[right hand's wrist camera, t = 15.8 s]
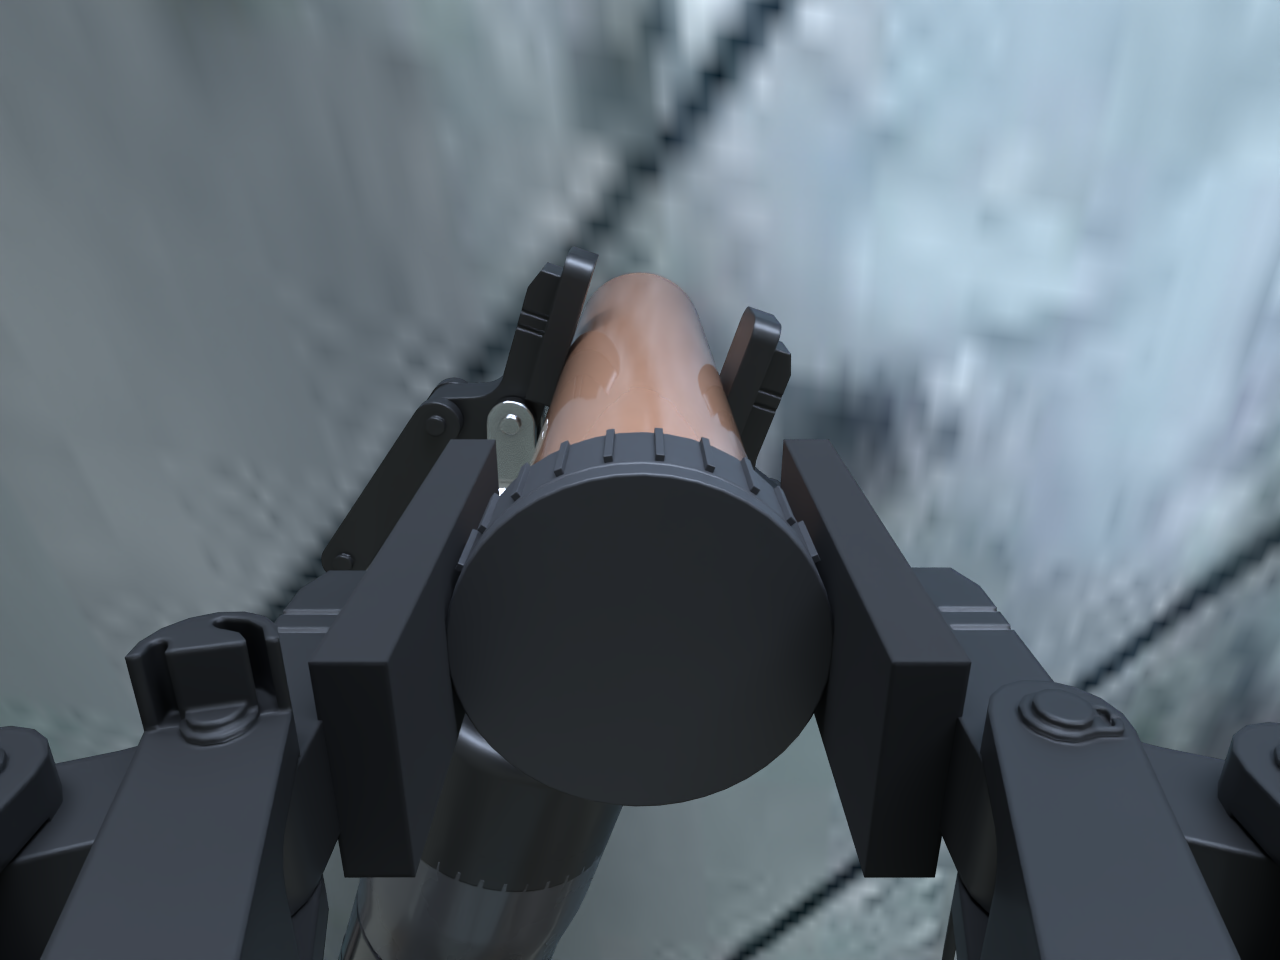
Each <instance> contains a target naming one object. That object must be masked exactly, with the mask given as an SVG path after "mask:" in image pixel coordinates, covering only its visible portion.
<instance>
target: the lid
mask: <svg viewBox="0 0 1280 960" xmlns="http://www.w3.org/2000/svg"><path fill="white" fill-rule="evenodd" d="M819 561H820V558H819V555H818V553H817V551H816V548H815V546H814V544H813V542H812V539H811V537H810V535H809V532H808V530H807V528H806V526H805V524H804V521H800V522H798V523H797V521H796V519H795V517H794V515H793V513H792V511H791V508H790V506H789V503H788V501H787V499H786V496H785V494H784V491H783V490H782V489H781V487H780V486H777V487H776V488H773V487H772V486H771V485H770V484H769V483H768V482H767V481H766V480H764V479H763V478H762V477H761V476H760V475H759V474H758V473H757V472H755V471H754V470H753V467H752V464H751V461H750V460H749V459H747V458H746V457H743V459H742V460H741V461H740V460H738V459H737V458H735V457H733V456H731V455H729V454H727V453H725V452H723V451H721V450H719V449H717V448H715V447H713V446H711V445H710V441H709V439H707V438H704V437H701V440H700V442H699V441H696V440H693V439H689V438H684V437H680V436H675V435H670V434H663V428H654V433H649V432H633V433H617V434H615V429H608V430H606V435H605V436H599V437H594V438H591V439H588V440H584V441H581V442H578V443H574V444H571V445H570V443H569V441H568V440H567V441H565V442H562V443H561V445H560V449H559V450H558V451H556V452H554V453H551V454H550V455H548V456H546V457H545V458H543V459H542V460H540V461H538V462H537V463H535V464H534V465H532V466H530V465H529V464H528V463H525V464H524V465H523V466H521V469H520V472H519V474H518V477H517V478H516V479H515V480H514V481H513V482H512V483H511V484H510V485H509V486H508V487H507V488H506V489H505V490H504V491H503V492H502V494H501V495H500V496H499V495H498V494H496V493H494V494H493V495H492V497H491V498H490V500H489V503H488V505H487V507H486V510H485V512H484V515H483V517H482V519H481V522H480V524H479V526H478V529H477V530H475V529H472V531H471V534H470V536H469V538H468V541H467V543H466V545H465V548H464V550H463V552H462V554H461V557H460V559H459V561H458V564H457V566H456V569H455V570H457V571H460V572H461V573H460V576H459V578H458V580H457V583H456V585H455V589H454V592H453V595H452V598H451V601H450V604H449V609H448V616H447V622H446V638H447V650H448V660H449V669H450V676H451V679H452V683H453V686H454V689H455V692H456V694H457V697H458V699H459V701H460V703H461V705H462V707H463V709H464V711H465V713H466V715H467V716H468V718H469V719H470V721H471V722H472V724H473V725H474V727H475V728H476V730H477V731H478V732H479V734H480V735H481V736H482V737H483V738H484V739H485V740H486V742H487V743H488V744H489V745H490V746H491V747H492V748H493V749H494V750H495V751H496V752H497V753H498V754H499V755H501V756H502V757H503V758H504V759H505V760H506V761H507V762H508V763H510V764H511V765H513V766H514V767H516V768H517V769H519V770H520V771H521V772H523V773H524V774H526V775H527V776H529V777H531V778H533V779H535V780H537V781H538V782H540V783H542V784H544V785H546V786H548V787H550V788H553V789H555V790H558V791H560V792H563V793H565V794H568V795H571V796H575V797H578V798H582V799H585V800H589V801H594V802H600V803H606V804H611V805H624V806H659V805H667V804H674V803H681V802H686V801H690V800H694V799H698V798H702V797H705V796H708V795H711V794H714V793H716V792H719V791H722V790H725V789H727V788H729V787H731V786H733V785H735V784H737V783H739V782H741V781H743V780H745V779H747V778H749V777H750V776H752V775H753V774H755V773H757V772H758V771H760V770H761V769H763V768H764V767H766V766H767V765H768V764H769V763H771V762H772V761H773V760H774V759H775V758H777V757H778V756H779V755H780V754H781V753H783V752H784V751H785V750H786V749H787V747H788V746H789V745H790V744H791V743H792V742H793V741H794V740H795V739H796V738H797V737H798V736H799V734H800V733H801V732H802V730H803V729H804V727H805V726H806V725H807V723H808V722H809V720H810V719H811V717H812V715H813V714H814V712H815V710H816V708H817V706H818V704H819V702H820V700H821V698H822V695H823V693H824V690H825V687H826V684H827V682H828V679H829V673H830V664H831V654H832V644H833V618H832V611H831V607H830V603H829V600H828V595H827V592H826V589H825V587H824V584H823V582H822V580H821V577H820V575H819V573H818V570H817V568H816V565H815V563H817V562H819Z"/></svg>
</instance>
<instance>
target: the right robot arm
mask: <svg viewBox="0 0 1280 960" xmlns="http://www.w3.org/2000/svg"><path fill="white" fill-rule="evenodd" d="M781 489H782V490H783V491H784V494H785V496H786V499H787V501H788V503H789V506H790V508H791V511H792V513H793V515H794V517H795V519H796V521H797V523H798V522H800V521H804V524H805V526H806V528H807V530H808V532H809V535H810V537H811V539H812V542H813V544H814V546H815V548H816V551H817V553H818V555H819V558H820V561H819V562H817V563H815V565H816V568H817V570H818V573H819V575H820V577H821V580H822V582H823V584H824V587H825V589H826V592H827V595H828V600H829V603H830V607H831V611H832V618H833V644H832V654H831V664H830V673H829V679H828V682H827V684H826V687H825V690H824V693H823V695H822V698H821V700H820V702H819V704H818V706H817V708H816V710H815V712H814V714H815V718H816V721H817V724H818V728H819V731H820V734H821V737H822V741H823V744H824V747H825V750H826V754H827V757H828V760H829V763H830V767H831V770H832V773H833V777H834V780H835V783H836V786H837V790H838V793H839V796H840V799H841V803H842V806H843V809H844V812H845V816H846V819H847V822H848V826H849V829H850V832H851V835H852V839H853V842H854V845H855V848H856V852H857V855H858V858H859V861H860V865H861V868H862V871H863V875H864V877H935V873H936V868H937V862H938V856H939V850H940V844H941V838H942V837H943V839H944V841H945V843H946V846H947V848H948V850H949V853H950V855H951V857H952V859H953V862H954V864H955V866H956V869H957V871H958V873H957V878H956V884H955V889H954V895H953V900H952V905H951V911H950V916H949V922H948V927H947V933H946V938H945V944H944V950H943V956H942V960H954V956H955V951H956V954H957V960H1280V723H1272V722H1266V723H1259V724H1252V725H1246V726H1245V727H1243V728H1242V729H1241V730H1239V731H1238V732H1237V733H1235V734H1234V735H1233V738H1232V741H1231V744H1230V747H1229V750H1228V754H1227V757H1226V760H1222V759H1217V758H1212V757H1207V756H1202V755H1197V754H1192V753H1187V752H1182V751H1177V750H1172V749H1167V748H1162V747H1158V746H1154V745H1150V744H1146V743H1143V742H1141V741H1140V738H1139V736H1138V734H1137V732H1136V730H1135V729H1134V727H1133V726H1132V725H1131V724H1130V722H1129V721H1128V720H1127V718H1126V717H1125V716H1124V714H1123V713H1121V712H1120V711H1118V710H1117V709H1116V708H1114V707H1113V706H1111V705H1110V704H1109V703H1107V702H1106V701H1104V700H1103V699H1101V698H1099V697H1097V696H1095V695H1092V694H1090V693H1088V692H1085V691H1083V690H1081V689H1078V688H1076V687H1073V686H1068V685H1064V684H1060V683H1055V682H1054V681H1053V680H1052V679H1051V678H1050V676H1049V675H1048V674H1047V672H1046V671H1045V670H1044V668H1043V667H1042V666H1041V665H1040V663H1039V662H1038V661H1037V659H1036V658H1035V657H1034V655H1033V654H1032V653H1031V652H1030V650H1029V649H1028V648H1027V646H1026V645H1025V644H1024V642H1023V641H1022V640H1021V639H1020V637H1019V636H1018V635H1017V633H1016V632H1015V631H1014V630H1011V629H1010V624H1009V623H1008V622H1007V620H1006V619H1005V618H1004V617H1003V615H1002V614H1001V613H1000V612H997V610H996V609H997V607H996V606H995V605H994V604H993V602H992V601H991V600H990V598H989V597H988V596H987V594H986V593H985V592H984V591H983V589H982V588H981V587H980V586H979V585H978V584H976V583H974V582H973V581H971V580H970V579H968V578H966V577H965V576H963V575H962V574H960V573H958V572H957V571H955V570H954V569H952V568H911V567H910V565H909V564H908V562H907V561H906V559H905V557H904V556H903V554H902V553H901V551H900V550H899V548H898V546H897V545H896V543H895V542H894V540H893V539H892V537H891V536H890V534H889V532H888V531H887V529H886V528H885V526H884V525H883V523H882V522H881V520H880V518H879V517H878V515H877V514H876V512H875V511H874V509H873V508H872V506H871V504H870V503H869V501H868V500H867V498H866V497H865V495H864V493H863V492H862V490H861V489H860V487H859V486H858V484H857V483H856V481H855V479H854V478H853V476H852V475H851V473H850V472H849V470H848V469H847V467H846V465H845V464H844V462H843V461H842V459H841V458H840V456H839V454H838V453H837V451H836V450H835V448H834V447H833V445H832V444H831V442H830V440H829V439H784V444H783V459H782V474H781ZM494 493H496V494H498V495H499V481H498V466H497V451H496V439H451V440H450V441H449V443H448V444H447V446H446V447H445V449H444V451H443V452H442V454H441V455H440V457H439V458H438V460H437V461H436V463H435V465H434V466H433V468H432V469H431V471H430V472H429V474H428V475H427V477H426V479H425V480H424V482H423V483H422V485H421V486H420V488H419V490H418V491H417V493H416V494H415V496H414V497H413V499H412V500H411V502H410V504H409V505H408V507H407V508H406V510H405V511H404V513H403V514H402V516H401V518H400V519H399V521H398V522H397V524H396V525H395V527H394V528H393V530H392V532H391V533H390V535H389V536H388V538H387V539H386V541H385V543H384V544H383V546H382V547H381V549H380V550H379V552H378V553H377V555H376V557H375V558H374V560H373V561H372V563H371V564H370V566H369V567H368V569H367V570H329V571H327V572H326V573H324V574H323V575H321V576H320V577H318V578H316V579H315V580H313V581H312V582H310V583H308V584H307V585H305V586H304V587H302V588H301V589H299V591H298V592H297V593H296V595H295V596H294V597H293V599H292V600H291V601H290V602H289V604H288V605H287V606H286V608H285V609H284V610H283V615H280V616H279V617H278V618H277V619H276V621H275V622H274V623H273V622H272V621H271V620H269V619H268V618H267V617H265V616H262V615H257V614H253V613H248V612H217V613H212V614H207V615H202V616H197V617H192V618H188V619H186V620H183V621H180V622H177V623H175V624H172V625H169V626H167V627H164V628H161V629H160V630H158V631H156V632H155V633H153V634H152V635H150V636H148V637H147V638H145V639H143V640H142V641H140V642H139V643H138V644H137V645H136V646H135V647H134V648H133V649H132V650H131V651H130V652H129V653H128V655H127V656H126V657H125V660H126V664H127V667H128V671H129V675H130V679H131V683H132V686H133V690H134V694H135V698H136V702H137V705H138V709H139V713H140V717H141V720H142V724H143V728H144V733H143V736H142V738H141V740H140V742H139V744H138V746H136V747H132V748H128V749H125V750H121V751H116V752H111V753H106V754H101V755H96V756H91V757H87V758H82V759H77V760H72V761H67V762H62V763H57V764H55V762H54V759H53V756H52V753H51V749H50V746H49V743H48V740H47V738H45V737H44V736H43V735H41V734H40V733H39V732H37V731H36V730H35V729H29V728H22V727H15V726H7V727H0V960H323V956H324V947H325V938H326V929H327V920H328V911H329V908H328V902H327V895H326V889H325V884H324V878H323V872H324V870H325V867H326V865H327V863H328V860H329V858H330V856H331V853H332V851H333V849H334V846H335V844H336V842H337V840H338V841H339V847H340V853H341V859H342V865H343V871H344V877H415V876H416V873H417V870H418V866H419V863H420V860H421V857H422V853H423V850H424V847H425V843H426V840H427V837H428V834H429V830H430V827H431V824H432V821H433V817H434V814H435V811H436V808H437V804H438V801H439V798H440V794H441V791H442V788H443V785H444V781H445V778H446V775H447V772H448V768H449V765H450V762H451V759H452V755H453V752H454V749H455V746H456V742H457V739H458V736H459V732H460V729H461V726H462V723H463V719H464V716H465V711H464V709H463V707H462V705H461V703H460V701H459V699H458V697H457V694H456V692H455V689H454V686H453V683H452V679H451V676H450V669H449V660H448V650H447V638H446V622H447V616H448V609H449V604H450V601H451V598H452V595H453V592H454V589H455V585H456V583H457V580H458V578H459V576H460V573H461V572H460V571H457V570H455V569H456V566H457V564H458V561H459V559H460V557H461V554H462V552H463V550H464V548H465V545H466V543H467V541H468V538H469V536H470V534H471V531H472V529H475V530H477V529H478V526H479V524H480V522H481V519H482V517H483V515H484V512H485V510H486V507H487V505H488V503H489V500H490V498H491V497H492V495H493V494H494Z"/></svg>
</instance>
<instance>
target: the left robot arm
mask: <svg viewBox="0 0 1280 960" xmlns="http://www.w3.org/2000/svg"><path fill="white" fill-rule="evenodd" d="M597 258H598V254H595V253H592V252H589V251H586V250H583V249H580V248H577V247H574V246H573V247H572V248H571V250H570V251H569V253H568V255H567V258H566V261H565V264H564V268H563V267H560V266H557V265H554V264H551V263H548V262H547V264H546V265H545V266H544V267H543V269H542V270H541V271H540V273H539V274H538V275H537V276H536V278H535V279H534V280H533V281H532V283H531V284H530V285H529V287H528V289H527V292H526V296H525V300H524V303H523V307H522V311H521V314H520V318H519V321H518V325H517V328H516V332H515V335H514V339H513V343H512V346H511V350H510V353H509V357H508V361H507V364H506V368H505V371H504V375H503V376H502V377H501V378H499V379H497V380H495V381H492V382H486V383H468V382H466V381H465V380H463V379H460V378H448V379H445V380H443V381H442V382H440V383H439V384H438V385H437V387H436V388H435V389H434V390H433V392H432V393H431V395H430V396H429V398H428V399H427V400H426V401H425V402H424V403H422V404H421V406H420V407H419V408H418V409H417V410H416V412H415V413H414V415H413V416H412V418H411V419H410V421H409V422H408V424H407V425H406V427H405V428H404V430H403V431H402V433H401V434H400V436H399V437H398V439H397V440H396V442H395V443H394V445H393V447H392V448H391V450H390V451H389V453H388V454H387V456H386V457H385V459H384V460H383V462H382V463H381V465H380V466H379V468H378V469H377V471H376V472H375V474H374V475H373V477H372V478H371V480H370V481H369V483H368V484H367V486H366V487H365V489H364V491H363V492H362V494H361V495H360V497H359V498H358V500H357V501H356V503H355V504H354V506H353V507H352V509H351V510H350V512H349V513H348V515H347V516H346V518H345V519H344V521H343V522H342V524H341V525H340V527H339V528H338V530H337V531H336V533H335V535H334V536H333V538H332V539H331V541H330V542H329V544H328V545H327V547H326V548H325V550H324V551H323V554H322V559H321V560H322V565H323V568H324V570H325V571H326V572H327V571H329V570H367V569H368V567H369V566H370V564H371V563H372V561H373V560H374V558H375V557H376V555H377V553H378V552H379V550H380V549H381V547H382V546H383V544H384V543H385V541H386V539H387V538H388V536H389V535H390V533H391V532H392V530H393V528H394V527H395V525H396V524H397V522H398V521H399V519H400V518H401V516H402V514H403V513H404V511H405V510H406V508H407V507H408V505H409V504H410V502H411V500H412V499H413V497H414V496H415V494H416V493H417V491H418V490H419V488H420V486H421V485H422V483H423V482H424V480H425V479H426V477H427V475H428V474H429V472H430V471H431V469H432V468H433V466H434V465H435V463H436V461H437V460H438V458H439V457H440V455H441V454H442V452H443V451H444V449H445V447H446V446H447V444H448V443H449V441H450V440H451V439H496V451H497V466H498V481H499V496H500V495H501V494H502V492H503V491H504V490H505V489H506V488H507V487H508V486H509V485H510V484H511V483H512V482H513V481H514V480H515V479H516V478H517V477H518V474H519V472H520V469H521V466H523V465H524V464H525V463H528V464H529V465H530V462H531V459H532V456H533V453H534V450H535V447H536V444H537V441H538V439H539V436H540V433H541V430H542V427H543V424H544V421H545V406H548V407H550V404H551V401H552V398H553V395H554V392H555V389H556V387H557V384H558V381H559V378H560V375H561V372H562V370H563V367H564V364H565V362H566V359H567V356H568V353H569V350H570V347H571V344H572V340H573V337H574V334H575V331H576V327H577V324H578V321H579V318H580V314H581V311H582V308H583V304H584V301H585V298H586V295H587V291H588V288H589V285H590V282H591V278H592V275H593V272H594V268H595V265H596V262H597ZM780 334H781V324H780V323H779V321H778V320H777V319H776V318H775V316H774V315H772V314H769V313H766V312H763V311H760V310H757V309H755V308H752V307H747V308H746V310H745V311H744V313H743V316H742V318H741V320H740V323H739V326H738V328H737V331H736V333H735V336H734V339H733V341H732V344H731V347H730V349H729V352H728V355H727V357H726V360H725V363H724V365H723V368H722V370H721V373H720V376H719V377H720V379H721V382H722V385H723V388H724V391H725V394H726V397H727V400H728V403H729V405H730V408H731V411H732V414H733V417H734V420H735V423H736V426H737V429H738V431H739V434H740V437H741V440H742V443H743V446H744V449H745V452H746V455H747V458H748V459H749V460H750V461H751V464H752V467H753V470H754V471H755V472H757V473H758V474H759V475H760V476H761V477H762V478H763V479H764V480H766V481H767V482H768V483H769V484H770V485H771V486H772V487H773V488H776V487H777V486H780V487H781V482H779V481H778V480H775V479H772V478H768V477H767V476H766V475H764V474H763V473H762V472H760V471H759V470H758V469H757V468H756V467H755V463H756V459H757V456H758V454H759V451H760V449H761V446H762V444H763V442H764V439H765V437H766V434H767V432H768V429H769V427H770V425H771V422H772V420H773V417H774V415H775V411H776V409H777V408H778V405H779V403H780V400H781V397H782V395H783V393H784V390H785V388H786V386H787V383H788V381H789V378H790V376H791V354H790V352H789V351H788V349H787V348H786V347H785V345H784V344H783V343H782V342H781V341H779V338H780ZM622 806H623V805H611V804H606V803H600V802H594V801H589V800H585V799H582V798H578V797H575V796H571V795H568V794H565V793H563V792H560V791H558V790H555V789H553V788H550V787H548V786H546V785H544V784H542V783H540V782H538V781H537V780H535V779H533V778H531V777H529V776H527V775H526V774H524V773H523V772H521V771H520V770H519V769H517V768H516V767H514V766H513V765H511V764H510V763H508V762H507V761H506V760H505V759H504V758H503V757H502V756H501V755H499V754H498V753H497V752H496V751H495V750H494V749H493V748H492V747H491V746H490V745H489V744H488V743H487V742H486V740H485V739H484V738H483V737H482V736H481V735H480V734H479V732H478V731H477V730H476V728H475V727H474V725H473V724H472V722H471V721H470V719H469V718H468V716H467V715H466V713H465V716H464V719H463V723H462V726H461V729H460V732H459V736H458V739H457V742H456V746H455V749H454V752H453V755H452V759H451V762H450V765H449V768H448V772H447V775H446V778H445V781H444V785H443V788H442V791H441V794H440V798H439V801H438V804H437V808H436V811H435V814H434V817H433V821H432V824H431V827H430V830H429V834H428V837H427V840H426V843H425V847H424V850H423V853H422V857H421V860H420V863H419V866H418V870H417V873H416V876H415V877H360V882H359V887H358V890H357V894H356V898H355V901H354V905H353V908H352V912H351V915H350V919H349V923H348V926H347V930H346V934H345V936H344V939H343V943H342V947H341V950H340V954H339V958H338V960H551V958H552V956H553V953H554V951H555V948H556V946H557V944H558V942H559V940H560V938H561V936H562V935H563V933H564V932H565V930H566V929H567V927H568V926H569V924H570V923H571V921H572V919H573V918H574V916H575V914H576V913H577V911H578V909H579V908H580V905H581V903H582V901H583V899H584V897H585V895H586V892H587V890H588V888H589V886H590V883H591V881H592V878H593V876H594V874H595V871H596V869H597V867H598V864H599V862H600V859H601V857H602V854H603V852H604V849H605V847H606V845H607V842H608V840H609V837H610V835H611V832H612V830H613V828H614V825H615V823H616V820H617V818H618V816H619V813H620V811H621V809H622Z"/></svg>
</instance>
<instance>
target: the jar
mask: <svg viewBox="0 0 1280 960" xmlns="http://www.w3.org/2000/svg"><path fill="white" fill-rule="evenodd" d="M654 428H663V434H670V435H675V436H680V437H684V438H689V439H693V440H696V441H699V442H700V440H701V437H704V438H707V439H709V441H710V445H711V446H713V447H715V448H717V449H719V450H721V451H723V452H725V453H727V454H729V455H731V456H733V457H735V458H737V459H738V460H740V461H741V460H742V459H743V457H746V458H747V455H746V452H745V449H744V446H743V443H742V440H741V437H740V434H739V431H738V429H737V426H736V423H735V420H734V417H733V414H732V411H731V408H730V405H729V403H728V400H727V397H726V394H725V391H724V388H723V385H722V382H721V379H720V377H719V374H718V371H717V368H716V365H715V362H714V359H713V356H712V353H711V350H710V348H709V345H708V342H707V339H706V336H705V333H704V330H703V327H702V324H701V322H700V319H699V316H698V313H697V310H696V308H695V306H694V304H693V303H692V301H691V300H690V298H689V297H688V295H687V294H686V293H685V292H684V291H683V290H682V289H681V288H680V287H678V286H677V285H676V284H674V283H673V282H671V281H670V280H667V279H665V278H663V277H660V276H657V275H654V274H648V273H631V274H626V275H622V276H619V277H616V278H614V279H612V280H610V281H608V282H607V283H605V284H604V285H602V286H601V287H600V288H599V289H598V290H597V291H596V292H595V293H594V294H593V295H592V296H591V297H590V299H589V300H588V302H587V304H586V305H585V307H584V310H583V312H582V314H581V317H580V320H579V323H578V326H577V329H576V332H575V335H574V337H573V340H572V344H571V347H570V350H569V353H568V356H567V359H566V362H565V364H564V367H563V370H562V372H561V375H560V378H559V381H558V384H557V387H556V389H555V392H554V395H553V398H552V401H551V404H550V407H549V410H548V413H547V415H546V418H545V421H544V424H543V427H542V430H541V433H540V436H539V439H538V441H537V444H536V447H535V450H534V453H533V456H532V459H531V462H530V466H532V465H534V464H535V463H537V462H538V461H540V460H542V459H543V458H545V457H546V456H548V455H550V454H551V453H554V452H556V451H558V450H559V449H560V445H561V443H562V442H565V441H567V440H568V441H569V443H570V445H571V444H574V443H578V442H581V441H584V440H588V439H591V438H594V437H599V436H605V435H606V430H608V429H615V434H617V433H633V432H649V433H654ZM747 459H748V458H747Z"/></svg>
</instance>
